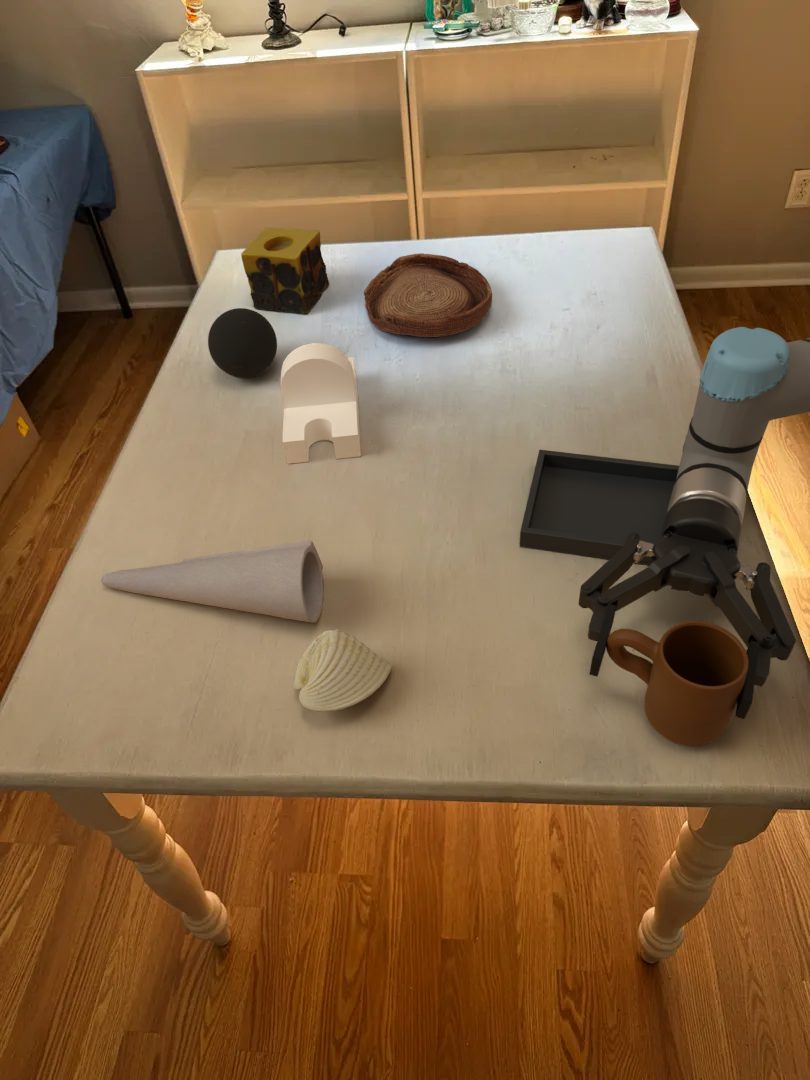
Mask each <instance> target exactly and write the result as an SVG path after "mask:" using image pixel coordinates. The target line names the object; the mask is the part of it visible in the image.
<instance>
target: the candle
mask: <svg viewBox="0 0 810 1080" xmlns="http://www.w3.org/2000/svg"><path fill="white" fill-rule="evenodd" d="M321 247H322V243H321V231H320V230H319V229H302V228H301V229H298V228H284V227H283V228H282V227H264V228H263V229H262V231H261V232H260V233H259V234H257V236H256V237H255V238H254V239H253V240H252V242H250V244H249V245H247V247H246V248H245V249H244V250H243V251H242V252H241V254H240V255H241V260H242V264H243V269H244V272H245V275H246V278H247V282H248V285H249V288H250V293H249V294H250V298H251V300H252V303H253V308H254V309H256V310H263V311H272V312H284V313H293V314H302V315H305V314H309V312H310V311H311V310H312V309H313V307H314V306H315V305H316V304H317V302H318V301H319V300H320V299H321V297H322V295H323V294H322V293H323V292H324V291H325V290H326V289H327V288H328V287H329V286H330V281H329V277H328V273H327V265H326V263H325V260H324V258H323V256H322V249H321Z"/></svg>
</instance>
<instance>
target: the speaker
mask: <svg viewBox="0 0 810 1080" xmlns="http://www.w3.org/2000/svg"><path fill="white" fill-rule="evenodd" d="M277 339H278V338H277V335H276V332H275V330H274V327H273V325H272V324H271V323H270V321H269V319H267V318H266V317H265V316H263V315H262V314H261V313H259V312H258V311H256V310H253V309H250V308H246V307H245V308H243V307H239V308H238V307H236V308H231V309H229V310H226V311H224V312H222V313H221V314H220V315H219V316H218V317H216V319H215V320H214V321H213V323H212V324H211V327H210V328H209V331H208V336H207V346H208V347H207V348H208V352H209V354H210V357H211V359H212V361H213V362H214V363H215V366H217V368H219V369H220V370H221V371H222V372H224V373H225V374H227V375H228V376H231V377H234V378H237V379H238V378H239V379H249V378H254V377H258V376H259V375H261V374H263V373H264V372H265V371H266V370H268V369H269V368H270V366H271V365H272V364H273V362H274V360H275V358H276V356H277V351H278V340H277Z"/></svg>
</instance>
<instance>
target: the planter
mask: <svg viewBox="0 0 810 1080" xmlns="http://www.w3.org/2000/svg"><path fill="white" fill-rule="evenodd" d="M323 569H324V566H323V563H322V561H321V557H320V555H319V553H318V551H317V548H316V546H315V544H314V542H313V540H305V541H299V542H298V541H297V542H292V543H285V544H278V545H271V546H266V547H265V546H264V547H259V548H252V549H245V550H237V551H232V552H224V553H218V554H211V555H204V556H197V557H196V556H195V557H190V558H184V559H182V561H181V562H176V563H169V564H162V565H154V566H146V567H140V568H138V567H137V568H131V569H130V568H129V569H120V570H119V569H118V570H113V571H111V572H107V573H104V574H103V575H102V576H101V578H100V583H101V585H103V586H104V587H106V588H109V589H114V590H117V591H118V590H120V591H124V592H129V593H134V594H139V595H145V596H151V597H157V598H164V599H169V600H175V601H181V602H188V603H192V604H193V603H195V604H200V605H206V606H211V607H218V608H224V609H230V610H236V611H241V612H246V613H253V614H260V615H264V616H265V615H266V616H271V617H277V618H281V619H286V620H287V619H289V620H294V621H300V622H307V623H311V624H312V623H313V624H314V623H317V622H318V621H319V619H320V616H321V613H322V611H323V605H324V575H323V574H324V573H323Z"/></svg>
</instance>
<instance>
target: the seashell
mask: <svg viewBox="0 0 810 1080" xmlns="http://www.w3.org/2000/svg"><path fill="white" fill-rule="evenodd" d="M392 669H393V665H392V664H391V663H389V662H388V661H386V660H385V659H383V658H382V657H380V656H379V655H378V654H377V653H376V652H375V651H373V650H372V649H371V648H370V647H369V646H367V645H366V644H365V643H363V642H362V641H360V640H359V639H358V638H357V637H356V636H353V635H351V634H349V633H348V632H346V631H342V630H341V629H340V628H339V629H338V628H337V629H329V630H325V631H323V633H320V634H319V635H318V636H317V637H316V638H315V639H314V640H313V641H312V642H311V643H310V644H309V646H308V647H307V648H306V650H305V651H304V653H303V655H302V657H301V659H300V660H299V662H298V664H297V667H296V670H295V674H294V683H293V688H294V689H295V690H300V691H299V694H298V700H299V702H300V704H301V705H302V706H303V707H304V708H306V709H308V710H311V711H315V712H321V713H322V712H335V711H340V710H344V709H348V708H350V707H352V706H354V705H356V704H359V703H360V702H363V701H364V700H366V699H367V698H369V697H370V696H372V695H373V694H374V693H375V692H376V691H377V690H378V689H379V688H380V687H381V686H382V685H383V684H384V683H385V681H386V680H387V678H388V677H389V675H390V673H391V671H392Z"/></svg>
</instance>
